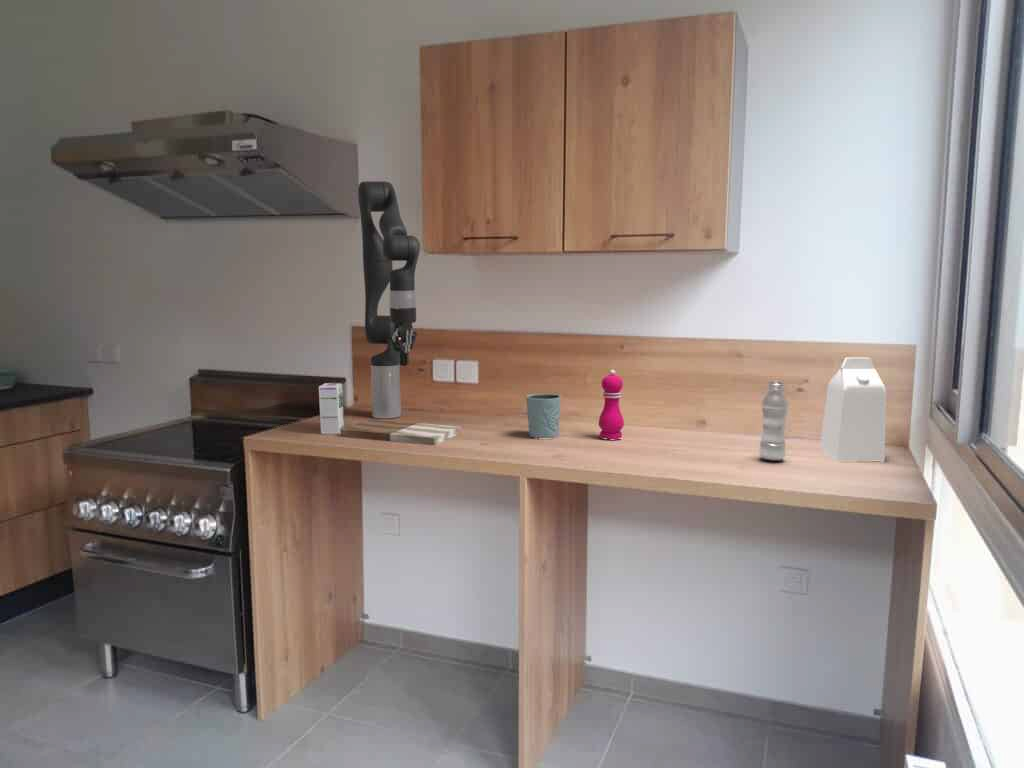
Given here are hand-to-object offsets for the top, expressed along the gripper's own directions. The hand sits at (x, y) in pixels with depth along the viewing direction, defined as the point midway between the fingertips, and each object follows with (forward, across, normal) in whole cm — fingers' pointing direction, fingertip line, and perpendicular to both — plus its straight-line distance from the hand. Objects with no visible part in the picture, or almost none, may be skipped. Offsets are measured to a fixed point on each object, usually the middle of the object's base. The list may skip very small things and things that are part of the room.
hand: (404, 365), depth 220 cm
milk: (+20, -14, +122) cm, 125 cm away
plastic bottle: (+20, -2, +103) cm, 105 cm away
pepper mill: (+20, -14, +59) cm, 64 cm away
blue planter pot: (+20, -9, +40) cm, 46 cm away
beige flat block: (+20, +3, +8) cm, 22 cm away
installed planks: (+20, +3, -7) cm, 22 cm away
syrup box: (+20, +7, -21) cm, 30 cm away
